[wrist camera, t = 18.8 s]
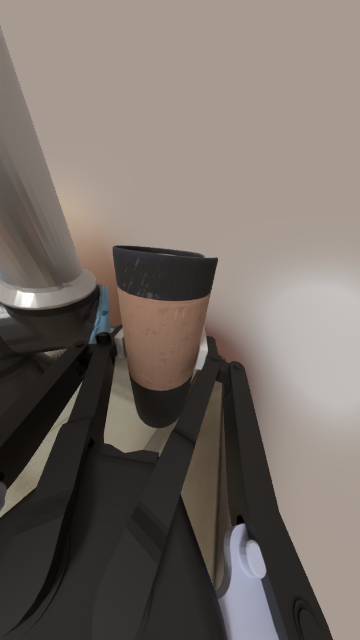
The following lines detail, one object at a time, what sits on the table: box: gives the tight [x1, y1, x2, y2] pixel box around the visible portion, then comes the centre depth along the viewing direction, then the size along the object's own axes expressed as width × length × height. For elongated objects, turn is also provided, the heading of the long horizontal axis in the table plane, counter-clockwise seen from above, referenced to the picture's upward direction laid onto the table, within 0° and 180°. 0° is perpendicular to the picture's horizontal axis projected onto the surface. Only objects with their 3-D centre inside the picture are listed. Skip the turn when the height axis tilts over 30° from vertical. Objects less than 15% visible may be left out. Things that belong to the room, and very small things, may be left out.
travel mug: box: [113, 246, 218, 428], centre depth 15 cm, size 8×8×20 cm
